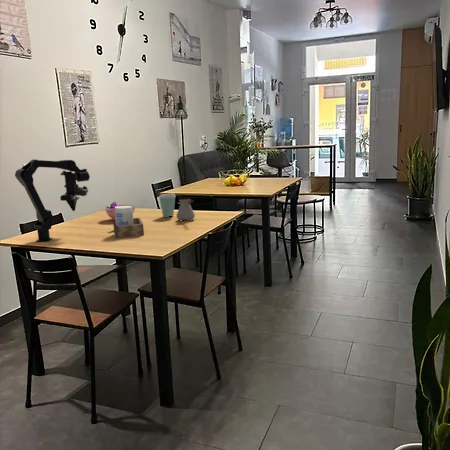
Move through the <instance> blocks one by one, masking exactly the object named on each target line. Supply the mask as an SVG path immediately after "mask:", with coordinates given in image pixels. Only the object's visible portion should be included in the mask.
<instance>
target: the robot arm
mask: <svg viewBox="0 0 450 450" xmlns="http://www.w3.org/2000/svg"><path fill="white" fill-rule="evenodd" d="M38 168H48V169H49V168H50V169H51V168H52V169H55V168H56V169H60V170H62V172H61V173H60V176H64V181H65V182H64V183H65V184H64V185H63V188H65V193H64V194H62V195H61V196H60V197H59V198H60V201H62V202H63V201H65V202H66V203H67V205H68V206H69V208H70V209H71V210H72V212H75V211H76V207H77V202H78V200H79V199H80V197H85V196H87V195H88V193H89V189H88V186H86V185H83V186H82V187H80V186H79V184H78V183H80V182H81V183H83V182H87V181H88V182H89V181H90V177H91V175H90V174H89V171H88V168H82V169H80V168H79V166H78V165H77V163H76V162H75V160H73V159H60V160H41V159H31V160H30V161H29V162H28V163H26V164H25V165H24V166H22V167H21V168H18V169H17V170H16V171H15V174H14V176H15V178H16V180H17V181H18V182H19V183H20V185H21V186H23V188H24V189H25V191H26V194H27V195H28V197H29V199H30V201H31V204H32V205H33V208H34V209H35V213H36V215H35V216H36V219H37V220H36V222H35V223H34V224H33V227H34V229H35V230H37V231H36V232H37V237H38V239H36V240H35V242H38V243H39V242H49V241H51V240H53V237H51V235H50V230H52V226H53V224H54V222H55V220H54V217H55V216H54V215H53V214H52V211H51V210H50V209H49V210H48V209H46V208H45V205H44V203H43V202H42V199H41V197H40V195H39V193H38V191H37V188H36V187H35V185H34V177H33V175H34V174H35V173H36V172H37V170H38ZM77 182H78V183H77ZM78 196H79V197H78Z"/></svg>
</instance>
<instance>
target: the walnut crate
mask: <svg viewBox="0 0 450 450" xmlns="http://www.w3.org/2000/svg"><path fill="white" fill-rule="evenodd" d="M112 223H113V224H112V226H113V231H114V239H118V238H128V237H140V236H144V235H145V233H144V232H145V231H144V222H143V221H142V219H141V217H133V225H125V226H117V225H116V220H115V218H113V219H112Z"/></svg>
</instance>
